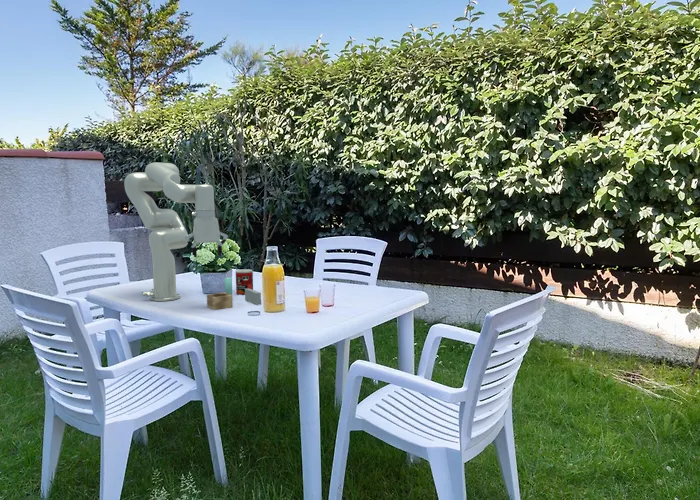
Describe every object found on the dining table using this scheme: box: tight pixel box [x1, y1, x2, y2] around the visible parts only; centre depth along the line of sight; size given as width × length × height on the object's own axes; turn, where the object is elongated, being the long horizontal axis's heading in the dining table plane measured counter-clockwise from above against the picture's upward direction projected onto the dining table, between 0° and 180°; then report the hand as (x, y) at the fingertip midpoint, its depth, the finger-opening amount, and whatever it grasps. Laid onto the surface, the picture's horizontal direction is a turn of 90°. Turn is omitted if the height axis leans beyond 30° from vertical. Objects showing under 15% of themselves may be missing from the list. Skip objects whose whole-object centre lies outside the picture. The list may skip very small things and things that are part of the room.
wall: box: [244, 289, 262, 306], centre depth 214 cm, size 2×12×5 cm, turn 36°
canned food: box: [235, 268, 254, 296], centre depth 232 cm, size 8×8×11 cm
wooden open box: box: [206, 291, 233, 311], centre depth 205 cm, size 8×8×5 cm
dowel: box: [224, 277, 234, 301], centre depth 217 cm, size 3×3×10 cm
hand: (207, 256), depth 202 cm, fingers open, 9 cm apart
